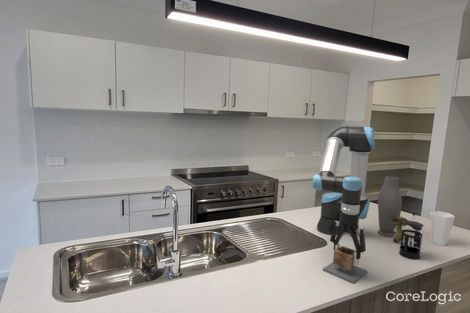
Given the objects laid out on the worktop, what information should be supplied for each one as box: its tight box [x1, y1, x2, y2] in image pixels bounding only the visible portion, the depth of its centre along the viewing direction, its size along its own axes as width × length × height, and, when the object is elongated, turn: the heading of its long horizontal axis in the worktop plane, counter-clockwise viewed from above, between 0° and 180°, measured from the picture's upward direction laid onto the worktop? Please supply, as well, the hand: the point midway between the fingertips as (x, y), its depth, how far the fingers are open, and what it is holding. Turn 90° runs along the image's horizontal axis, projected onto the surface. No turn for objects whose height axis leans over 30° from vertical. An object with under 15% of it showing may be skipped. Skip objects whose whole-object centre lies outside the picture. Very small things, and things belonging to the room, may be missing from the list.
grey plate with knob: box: [322, 261, 368, 285], centre depth 130 cm, size 14×14×7 cm
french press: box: [398, 210, 424, 260], centre depth 147 cm, size 12×9×23 cm
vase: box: [377, 175, 403, 238], centre depth 174 cm, size 13×13×35 cm
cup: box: [429, 210, 456, 247], centre depth 164 cm, size 11×10×17 cm
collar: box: [332, 245, 360, 270], centre depth 129 cm, size 8×8×6 cm
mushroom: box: [391, 216, 409, 243], centre depth 163 cm, size 9×9×15 cm
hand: (345, 261), depth 130 cm, fingers closed on collar, 8 cm apart
